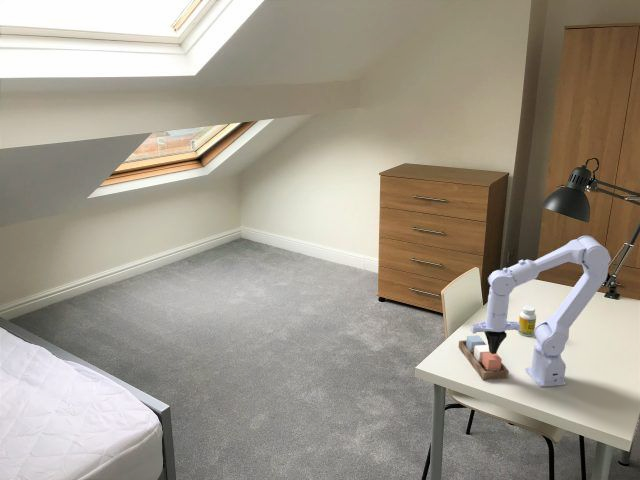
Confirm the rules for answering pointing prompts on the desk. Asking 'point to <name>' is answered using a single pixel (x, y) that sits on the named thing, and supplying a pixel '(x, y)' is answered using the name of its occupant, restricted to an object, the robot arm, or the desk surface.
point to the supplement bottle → (527, 321)
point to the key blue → (473, 342)
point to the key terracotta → (491, 361)
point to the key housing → (479, 366)
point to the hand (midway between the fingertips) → (492, 352)
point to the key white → (480, 351)
